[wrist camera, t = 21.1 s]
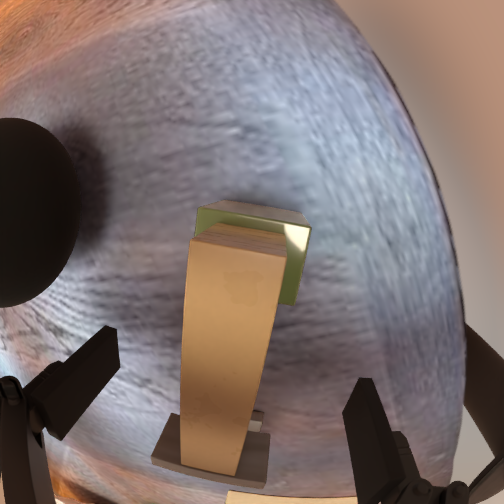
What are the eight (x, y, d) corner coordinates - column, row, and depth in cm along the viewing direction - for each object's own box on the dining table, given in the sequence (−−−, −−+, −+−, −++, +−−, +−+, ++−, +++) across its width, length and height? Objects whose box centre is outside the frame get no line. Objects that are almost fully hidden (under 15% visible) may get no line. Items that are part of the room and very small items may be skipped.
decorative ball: (103, 296, 16) (-7, 380, 6) (14, 249, 16) (-79, 287, 7) (132, 136, 14) (-20, 108, 4) (31, 122, 14) (-77, 116, 4)
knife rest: (302, 212, 14) (312, 226, 9) (291, 270, 14) (295, 307, 10) (223, 199, 14) (197, 206, 10) (215, 256, 15) (188, 286, 10)
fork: (209, 205, 14) (137, 230, 7) (311, 223, 14) (344, 268, 6) (189, 445, 19) (164, 515, 12) (250, 458, 19) (239, 532, 11)
